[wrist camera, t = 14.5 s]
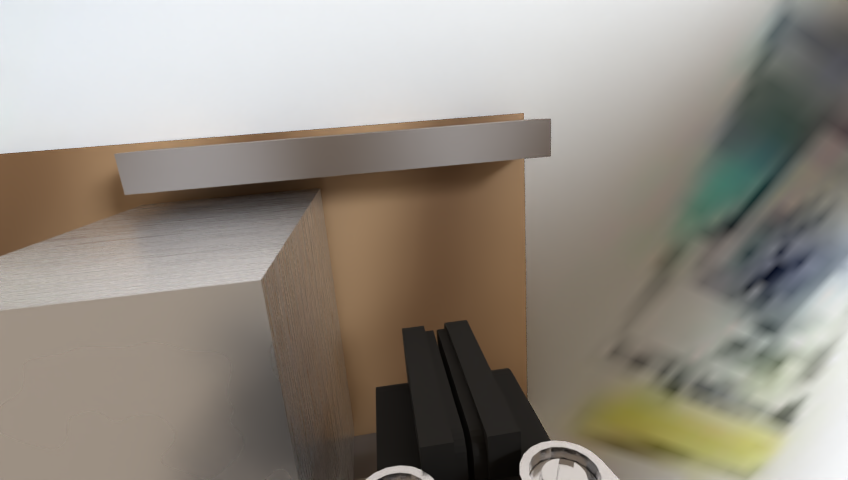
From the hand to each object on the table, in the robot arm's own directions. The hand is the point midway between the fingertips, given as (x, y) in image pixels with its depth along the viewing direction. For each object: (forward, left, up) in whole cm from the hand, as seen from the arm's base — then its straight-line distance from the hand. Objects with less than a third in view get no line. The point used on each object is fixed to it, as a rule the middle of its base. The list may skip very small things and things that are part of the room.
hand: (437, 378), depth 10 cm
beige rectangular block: (+5, 0, -4) cm, 6 cm away
